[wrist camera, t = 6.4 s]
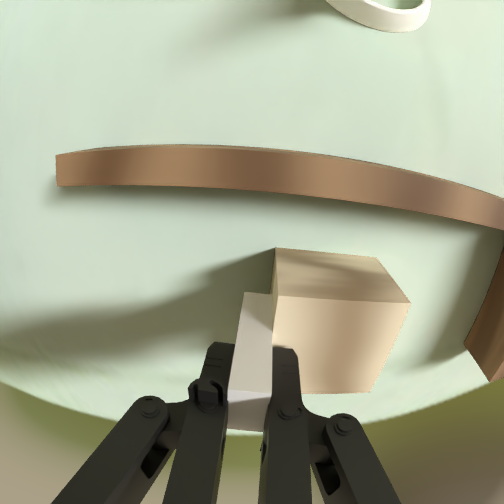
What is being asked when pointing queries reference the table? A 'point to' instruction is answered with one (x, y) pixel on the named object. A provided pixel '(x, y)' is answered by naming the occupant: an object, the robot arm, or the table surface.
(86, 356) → the table surface
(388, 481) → the robot arm
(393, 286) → the beige wooden block
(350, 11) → the hook
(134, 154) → the guide rail
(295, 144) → the table surface
